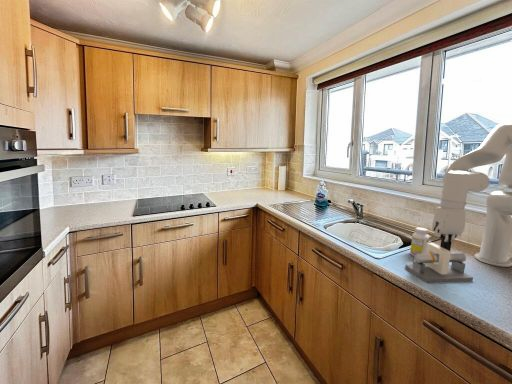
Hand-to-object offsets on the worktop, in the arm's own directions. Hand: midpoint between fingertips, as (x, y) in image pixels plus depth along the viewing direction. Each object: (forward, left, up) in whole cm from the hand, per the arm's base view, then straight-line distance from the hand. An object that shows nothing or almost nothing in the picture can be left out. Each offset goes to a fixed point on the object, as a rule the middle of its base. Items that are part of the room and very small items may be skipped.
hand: (444, 250), depth 104 cm
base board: (+2, 0, -10) cm, 10 cm away
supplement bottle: (-4, -18, -10) cm, 21 cm away
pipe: (+2, 0, -9) cm, 9 cm away
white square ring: (+3, 0, -8) cm, 8 cm away
